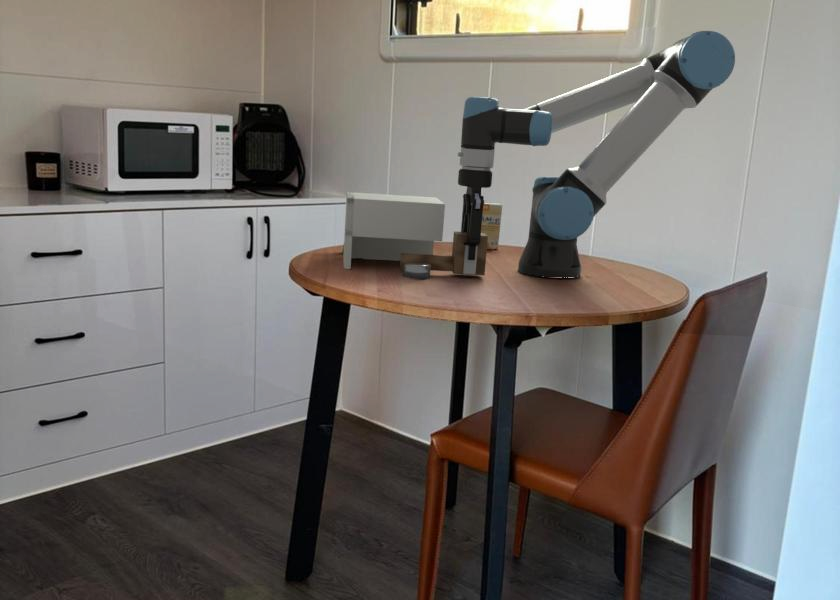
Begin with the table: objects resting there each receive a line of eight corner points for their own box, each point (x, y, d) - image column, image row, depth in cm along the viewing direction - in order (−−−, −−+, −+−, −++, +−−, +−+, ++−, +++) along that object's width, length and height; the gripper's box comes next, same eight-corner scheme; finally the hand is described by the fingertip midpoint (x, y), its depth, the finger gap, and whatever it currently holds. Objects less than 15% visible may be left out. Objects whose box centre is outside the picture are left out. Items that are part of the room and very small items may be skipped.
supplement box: (470, 249, 225) (474, 202, 222) (466, 246, 230) (470, 201, 227) (498, 250, 227) (502, 204, 224) (493, 247, 231) (497, 202, 229)
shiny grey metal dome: (427, 275, 181) (428, 262, 180) (431, 280, 175) (432, 267, 174) (401, 274, 180) (402, 261, 179) (404, 279, 174) (405, 265, 174)
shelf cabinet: (431, 261, 199) (436, 197, 195) (439, 273, 183) (445, 204, 180) (343, 257, 196) (346, 191, 193) (343, 268, 181) (347, 198, 177)
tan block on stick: (480, 271, 185) (483, 233, 183) (484, 275, 180) (487, 236, 178) (399, 267, 183) (401, 228, 181) (400, 271, 178) (403, 231, 176)
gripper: (453, 165, 185) (445, 263, 190) (465, 169, 168) (456, 278, 173) (485, 167, 186) (476, 265, 191) (500, 172, 169) (490, 279, 174)
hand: (467, 271), depth 182 cm, fingers closed on tan block on stick, 5 cm apart
